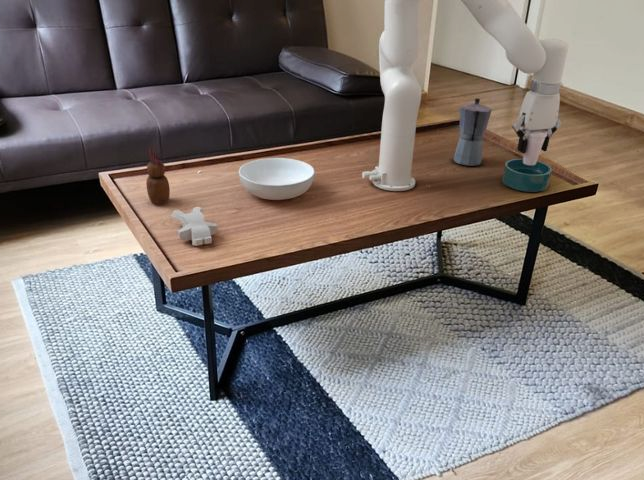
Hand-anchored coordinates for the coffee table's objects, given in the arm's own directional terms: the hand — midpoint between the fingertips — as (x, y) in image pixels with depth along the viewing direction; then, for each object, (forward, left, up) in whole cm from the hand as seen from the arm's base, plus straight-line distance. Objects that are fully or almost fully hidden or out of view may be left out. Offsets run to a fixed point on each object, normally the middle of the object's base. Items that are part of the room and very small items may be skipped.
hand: (531, 150), depth 186 cm
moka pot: (-8, +20, -11) cm, 24 cm away
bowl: (0, 0, -11) cm, 11 cm away
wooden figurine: (-105, +13, -11) cm, 106 cm away
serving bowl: (-73, +11, -11) cm, 75 cm away
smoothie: (0, 0, -4) cm, 4 cm away
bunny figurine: (-99, -8, -11) cm, 100 cm away
